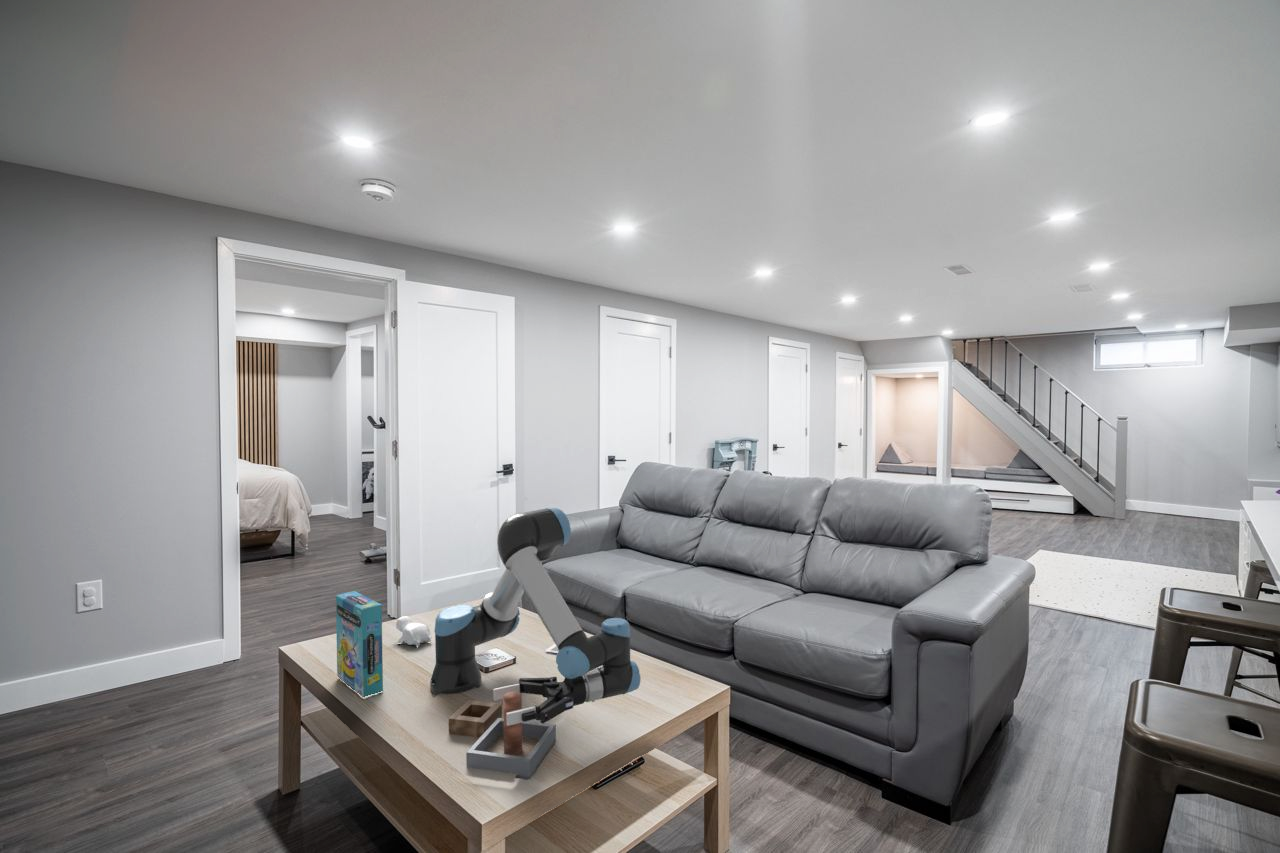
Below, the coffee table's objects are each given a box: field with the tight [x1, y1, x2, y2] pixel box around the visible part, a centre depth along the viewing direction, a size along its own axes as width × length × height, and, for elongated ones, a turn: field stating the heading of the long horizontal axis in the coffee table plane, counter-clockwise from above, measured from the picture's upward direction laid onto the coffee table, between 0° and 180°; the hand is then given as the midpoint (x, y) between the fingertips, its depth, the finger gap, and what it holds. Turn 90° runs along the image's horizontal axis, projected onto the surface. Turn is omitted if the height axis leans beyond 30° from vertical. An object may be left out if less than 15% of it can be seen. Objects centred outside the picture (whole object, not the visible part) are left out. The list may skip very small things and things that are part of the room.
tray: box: [465, 717, 557, 780], centre depth 144 cm, size 16×16×4 cm
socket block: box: [448, 699, 503, 739], centre depth 156 cm, size 10×10×5 cm
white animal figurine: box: [395, 615, 432, 648], centre depth 218 cm, size 9×8×15 cm
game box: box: [335, 590, 384, 697], centre depth 182 cm, size 20×6×27 cm, turn 47°
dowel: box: [502, 692, 523, 756], centre depth 144 cm, size 4×4×14 cm
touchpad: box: [545, 643, 559, 654], centre depth 207 cm, size 8×15×2 cm, turn 68°
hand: (499, 706), depth 142 cm, fingers open, 13 cm apart
